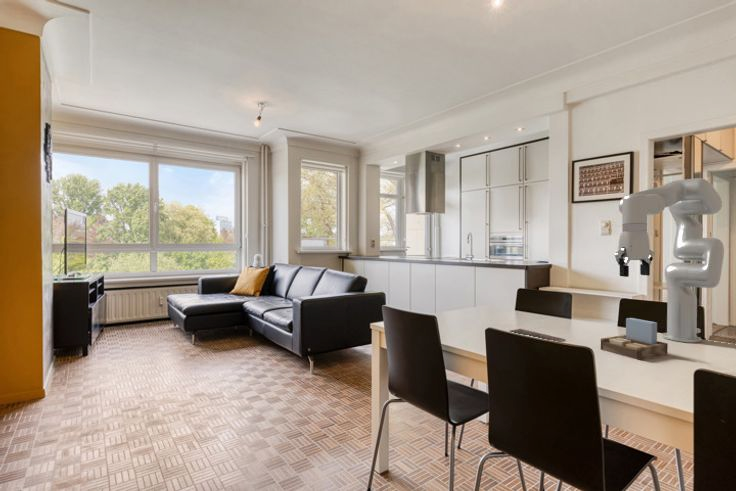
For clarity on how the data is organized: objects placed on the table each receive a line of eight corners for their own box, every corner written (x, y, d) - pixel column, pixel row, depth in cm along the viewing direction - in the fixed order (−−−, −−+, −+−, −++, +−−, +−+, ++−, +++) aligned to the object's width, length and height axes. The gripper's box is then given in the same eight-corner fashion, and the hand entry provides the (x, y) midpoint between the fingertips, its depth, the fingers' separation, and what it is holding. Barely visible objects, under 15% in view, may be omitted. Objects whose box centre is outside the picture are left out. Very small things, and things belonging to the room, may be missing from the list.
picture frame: (494, 338, 167) (538, 350, 149) (494, 332, 167) (538, 344, 149) (520, 333, 176) (565, 344, 157) (520, 328, 176) (565, 338, 157)
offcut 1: (618, 348, 145) (618, 337, 145) (630, 351, 141) (631, 340, 141) (609, 349, 143) (609, 339, 143) (621, 353, 139) (621, 342, 139)
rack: (627, 347, 150) (627, 334, 150) (667, 357, 137) (667, 343, 137) (600, 352, 144) (600, 338, 144) (639, 363, 131) (640, 348, 131)
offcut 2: (634, 352, 140) (634, 342, 140) (648, 356, 136) (648, 346, 136) (625, 354, 138) (625, 344, 138) (639, 357, 134) (639, 347, 134)
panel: (631, 347, 147) (631, 317, 147) (656, 353, 139) (657, 322, 139) (625, 347, 146) (626, 318, 146) (651, 354, 138) (651, 323, 137)
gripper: (643, 228, 148) (643, 273, 148) (606, 229, 143) (606, 275, 144) (663, 228, 141) (662, 275, 141) (625, 228, 136) (625, 277, 136)
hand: (634, 275), depth 142 cm, fingers open, 9 cm apart
